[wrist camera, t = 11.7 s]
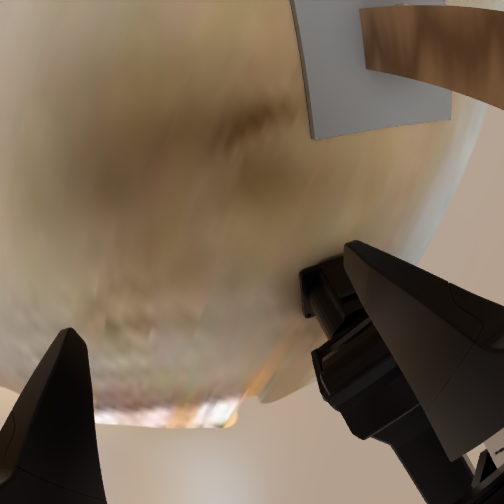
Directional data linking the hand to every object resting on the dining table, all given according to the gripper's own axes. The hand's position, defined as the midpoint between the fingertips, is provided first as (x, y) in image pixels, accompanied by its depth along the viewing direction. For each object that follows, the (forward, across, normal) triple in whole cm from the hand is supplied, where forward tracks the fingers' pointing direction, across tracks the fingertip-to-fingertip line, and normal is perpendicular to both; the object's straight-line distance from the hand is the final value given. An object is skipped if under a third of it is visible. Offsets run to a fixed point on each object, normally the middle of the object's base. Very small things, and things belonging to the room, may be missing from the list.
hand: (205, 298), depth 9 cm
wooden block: (+12, -16, -6) cm, 21 cm away
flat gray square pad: (+13, -16, -6) cm, 21 cm away
